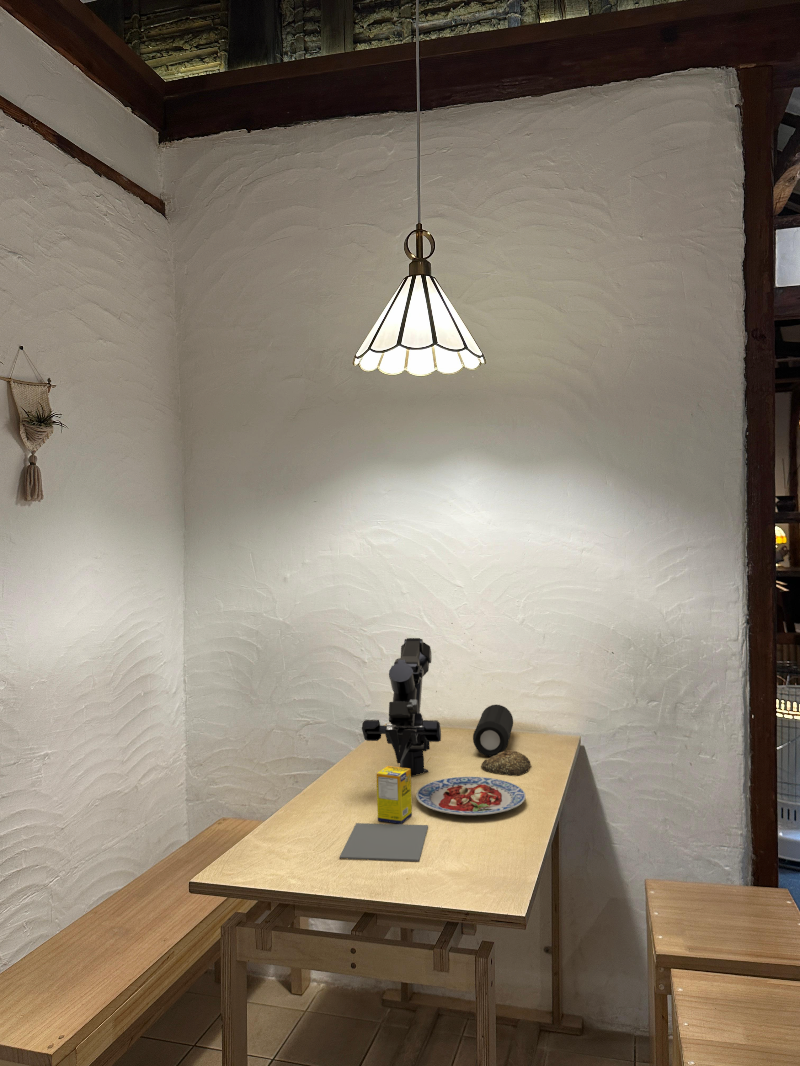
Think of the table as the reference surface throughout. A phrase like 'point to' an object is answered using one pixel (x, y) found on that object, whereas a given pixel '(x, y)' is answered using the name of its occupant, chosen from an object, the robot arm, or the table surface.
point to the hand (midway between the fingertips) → (398, 762)
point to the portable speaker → (493, 730)
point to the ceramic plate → (470, 795)
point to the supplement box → (394, 794)
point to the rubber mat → (385, 842)
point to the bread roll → (507, 763)
